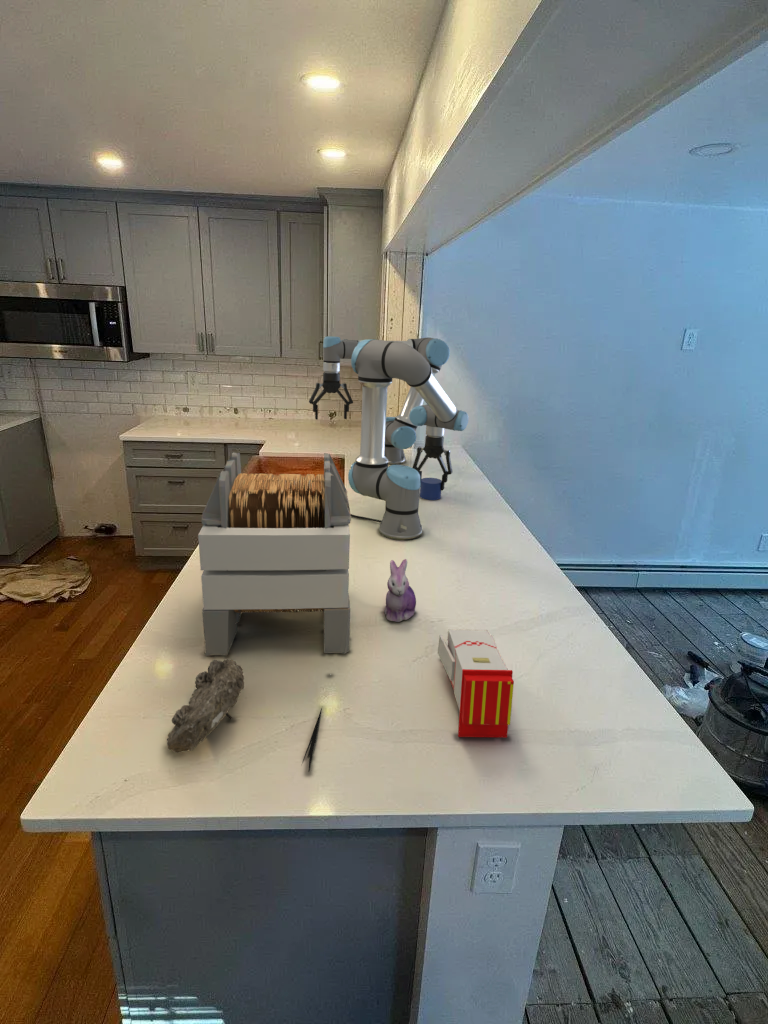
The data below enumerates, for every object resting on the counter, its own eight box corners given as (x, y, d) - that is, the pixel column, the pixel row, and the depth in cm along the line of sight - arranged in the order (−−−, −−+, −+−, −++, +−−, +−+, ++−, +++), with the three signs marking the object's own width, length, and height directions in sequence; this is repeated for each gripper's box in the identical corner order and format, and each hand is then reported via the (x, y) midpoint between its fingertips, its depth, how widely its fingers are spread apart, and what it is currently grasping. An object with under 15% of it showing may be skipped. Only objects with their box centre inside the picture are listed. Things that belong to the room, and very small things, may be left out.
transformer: (226, 586, 157) (217, 442, 143) (344, 585, 161) (346, 445, 147) (202, 658, 125) (189, 482, 112) (350, 654, 129) (354, 483, 115)
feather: (331, 679, 122) (336, 673, 122) (307, 777, 96) (313, 769, 95) (324, 675, 122) (329, 669, 121) (298, 772, 95) (304, 764, 95)
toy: (488, 613, 130) (523, 677, 101) (484, 667, 133) (517, 744, 104) (435, 612, 130) (455, 676, 101) (432, 666, 133) (451, 743, 103)
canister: (429, 501, 235) (430, 484, 233) (415, 495, 242) (416, 479, 239) (445, 498, 240) (446, 481, 238) (431, 492, 247) (432, 476, 244)
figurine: (392, 627, 141) (395, 572, 136) (374, 608, 149) (376, 556, 144) (425, 619, 145) (429, 566, 140) (405, 601, 154) (408, 550, 149)
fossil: (192, 660, 117) (244, 628, 112) (224, 691, 120) (276, 661, 115) (142, 746, 98) (202, 712, 93) (182, 779, 101) (242, 748, 96)
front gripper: (463, 436, 232) (458, 489, 240) (411, 431, 238) (408, 482, 246) (459, 440, 226) (454, 494, 233) (406, 434, 232) (403, 486, 239)
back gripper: (305, 372, 250) (305, 420, 257) (360, 373, 256) (358, 420, 264) (302, 370, 256) (302, 417, 263) (356, 371, 263) (355, 417, 270)
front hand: (430, 487), depth 240 cm, fingers open, 9 cm apart
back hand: (330, 418), depth 264 cm, fingers open, 13 cm apart
